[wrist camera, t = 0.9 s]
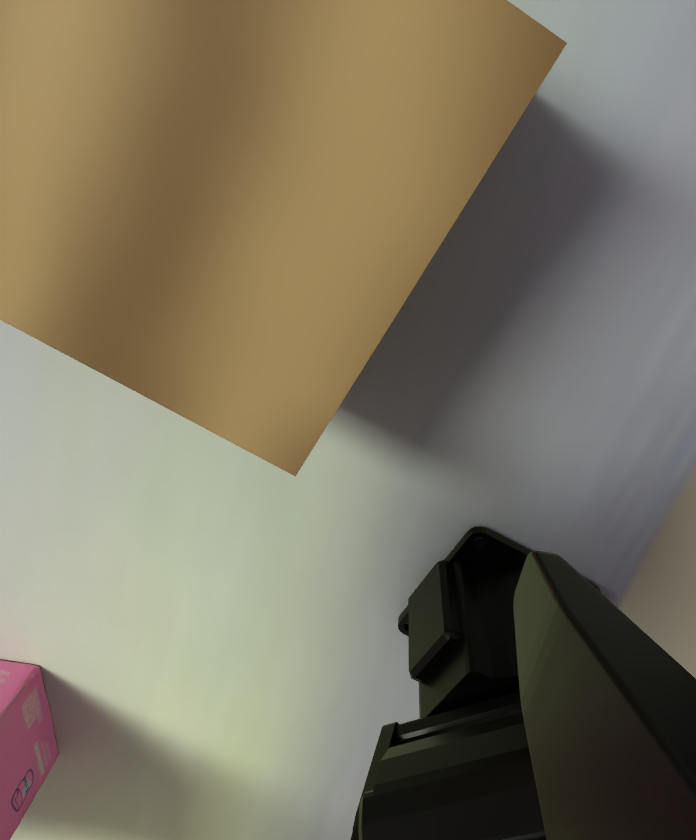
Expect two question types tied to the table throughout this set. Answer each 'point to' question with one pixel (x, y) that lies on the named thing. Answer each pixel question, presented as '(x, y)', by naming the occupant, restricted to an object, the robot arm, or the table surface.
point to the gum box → (22, 741)
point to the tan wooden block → (243, 187)
